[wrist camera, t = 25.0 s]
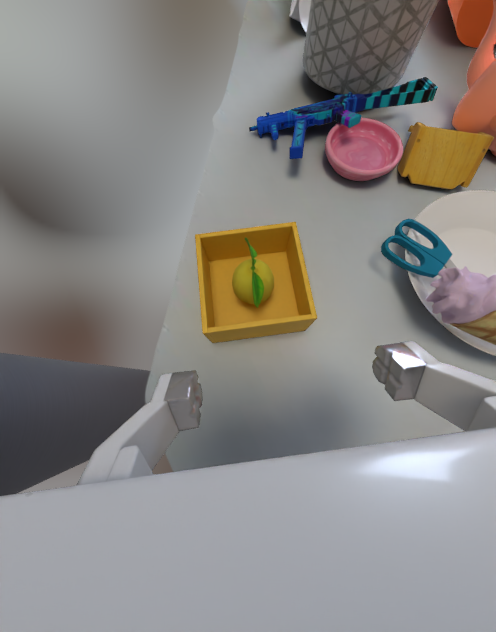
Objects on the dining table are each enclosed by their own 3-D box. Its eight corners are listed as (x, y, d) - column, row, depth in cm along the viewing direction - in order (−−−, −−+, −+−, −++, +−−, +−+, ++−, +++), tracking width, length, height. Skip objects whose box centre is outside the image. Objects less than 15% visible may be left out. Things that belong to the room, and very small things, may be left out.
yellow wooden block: (466, 191, 37) (434, 193, 46) (505, 116, 33) (463, 133, 41) (400, 180, 38) (380, 184, 46) (429, 106, 34) (402, 124, 42)
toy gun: (252, 172, 38) (250, 129, 45) (456, 129, 33) (416, 89, 41) (249, 153, 35) (247, 111, 43) (469, 104, 31) (424, 67, 38)
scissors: (406, 214, 32) (551, 305, 28) (402, 219, 33) (541, 307, 29) (380, 247, 31) (527, 346, 27) (376, 251, 32) (518, 347, 28)
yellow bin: (212, 343, 33) (202, 333, 26) (205, 260, 36) (195, 234, 30) (305, 330, 33) (317, 318, 26) (288, 249, 36) (295, 221, 30)
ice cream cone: (597, 328, 24) (478, 242, 24) (599, 379, 21) (467, 282, 22) (514, 342, 30) (420, 273, 30) (508, 383, 27) (406, 307, 28)
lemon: (246, 265, 35) (243, 221, 26) (280, 282, 34) (291, 243, 25) (223, 301, 34) (211, 269, 24) (258, 320, 33) (260, 294, 23)
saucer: (334, 127, 43) (340, 107, 40) (401, 146, 41) (412, 128, 38) (311, 175, 40) (315, 158, 37) (381, 198, 38) (392, 182, 35)
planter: (391, 51, 49) (467, -133, 31) (400, 116, 43) (497, -62, 26) (300, 50, 50) (325, -130, 32) (298, 113, 44) (327, -61, 27)
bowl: (596, 266, 34) (634, 252, 31) (530, 406, 29) (567, 409, 26) (437, 183, 39) (455, 163, 36) (358, 290, 34) (370, 280, 31)
